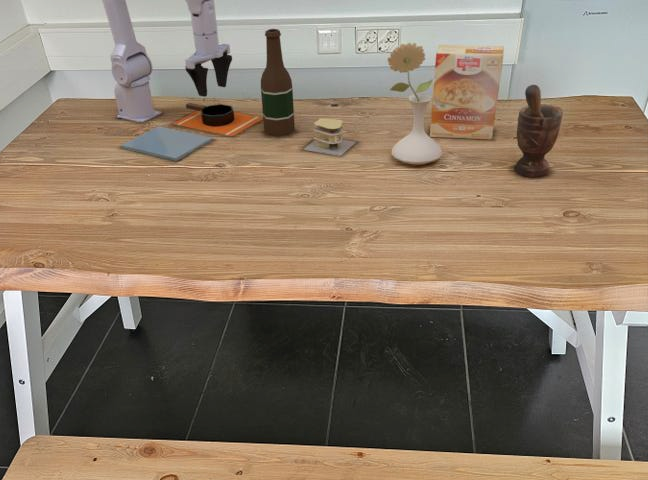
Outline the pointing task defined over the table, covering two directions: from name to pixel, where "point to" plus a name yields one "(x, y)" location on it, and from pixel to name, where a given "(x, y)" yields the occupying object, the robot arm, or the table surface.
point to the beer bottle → (276, 90)
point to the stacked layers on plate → (329, 138)
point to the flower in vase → (416, 143)
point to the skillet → (214, 114)
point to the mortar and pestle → (536, 133)
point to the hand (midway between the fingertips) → (212, 91)
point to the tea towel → (231, 129)
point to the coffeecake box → (465, 91)
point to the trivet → (166, 143)
